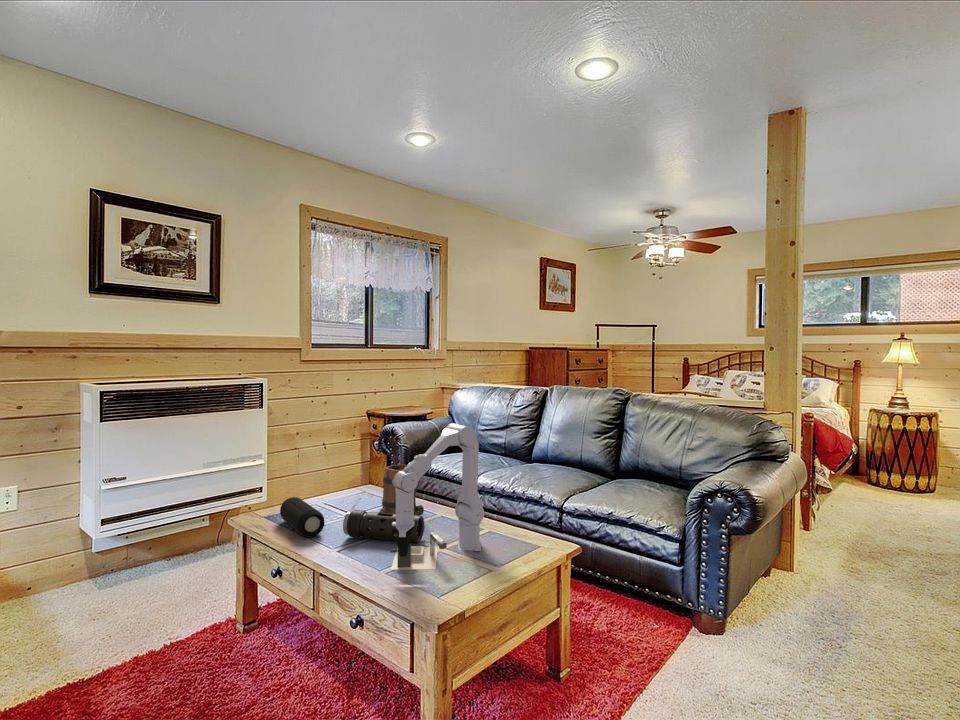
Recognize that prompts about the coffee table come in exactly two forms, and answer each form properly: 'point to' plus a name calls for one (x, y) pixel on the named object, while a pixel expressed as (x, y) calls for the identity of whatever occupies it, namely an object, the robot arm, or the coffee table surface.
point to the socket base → (418, 559)
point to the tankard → (390, 493)
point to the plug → (403, 558)
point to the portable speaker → (302, 517)
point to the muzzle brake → (378, 525)
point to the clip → (436, 539)
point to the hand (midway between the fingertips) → (404, 551)
